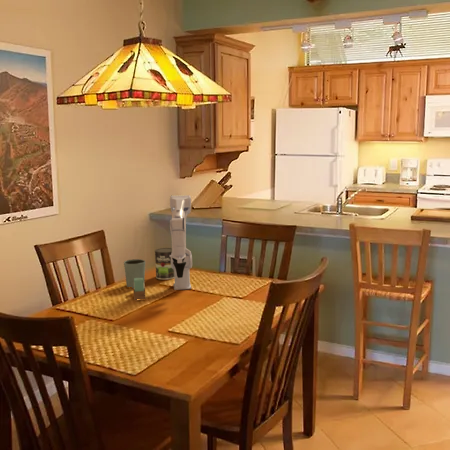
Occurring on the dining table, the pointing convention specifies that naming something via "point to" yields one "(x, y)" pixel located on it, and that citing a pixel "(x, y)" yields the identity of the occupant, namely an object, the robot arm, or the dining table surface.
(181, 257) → the robot arm
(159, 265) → the coffee can
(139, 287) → the teal block
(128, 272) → the teal cup
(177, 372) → the dining table surface
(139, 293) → the walnut block
